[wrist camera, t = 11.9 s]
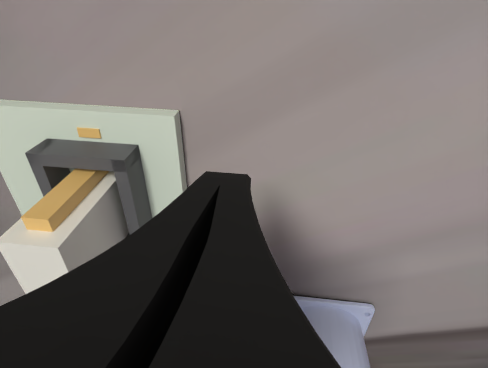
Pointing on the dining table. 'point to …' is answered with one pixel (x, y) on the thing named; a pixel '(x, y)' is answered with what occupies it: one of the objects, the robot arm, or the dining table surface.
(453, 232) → the dining table surface
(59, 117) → the board
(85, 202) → the plug
